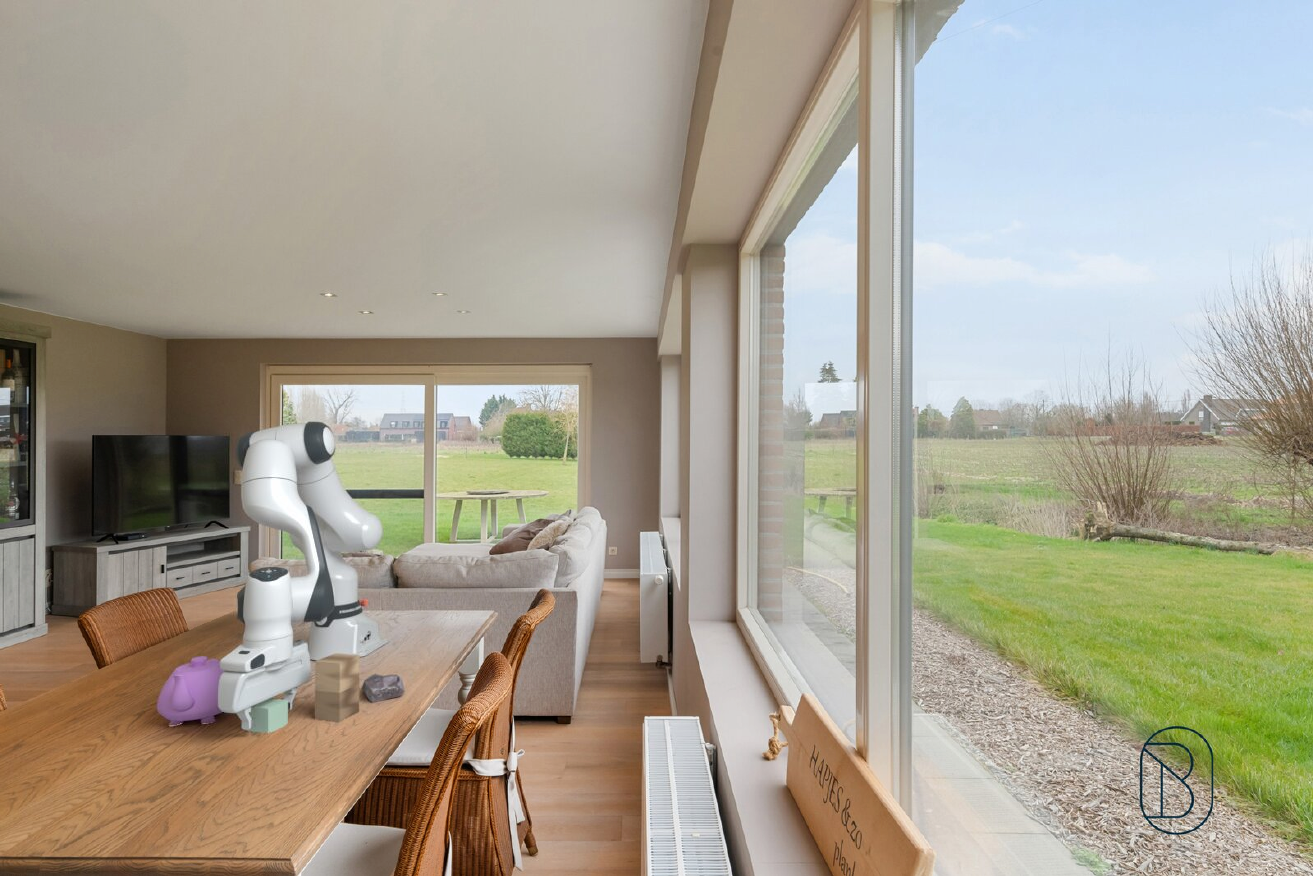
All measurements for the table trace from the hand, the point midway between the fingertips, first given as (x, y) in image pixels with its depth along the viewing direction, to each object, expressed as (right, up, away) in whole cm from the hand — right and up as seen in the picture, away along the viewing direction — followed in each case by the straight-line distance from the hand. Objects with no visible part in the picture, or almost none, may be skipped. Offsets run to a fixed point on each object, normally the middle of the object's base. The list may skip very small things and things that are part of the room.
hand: (267, 719), depth 140 cm
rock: (+16, -2, +19) cm, 25 cm away
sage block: (0, -2, 0) cm, 2 cm away
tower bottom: (+11, -2, +6) cm, 13 cm away
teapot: (-17, -2, +5) cm, 18 cm away
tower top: (+11, +4, +6) cm, 13 cm away
